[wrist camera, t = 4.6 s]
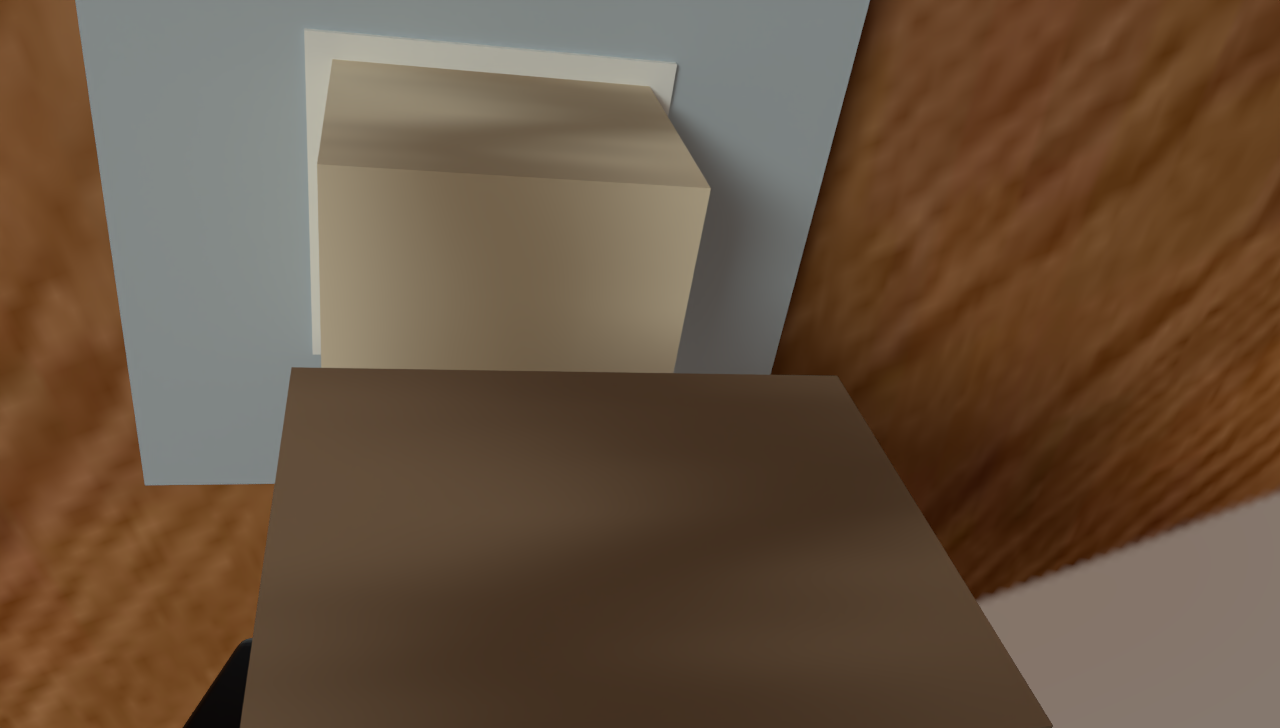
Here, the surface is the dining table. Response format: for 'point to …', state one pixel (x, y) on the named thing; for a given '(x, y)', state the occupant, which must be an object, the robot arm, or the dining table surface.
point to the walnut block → (606, 561)
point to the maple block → (502, 223)
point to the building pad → (288, 192)
